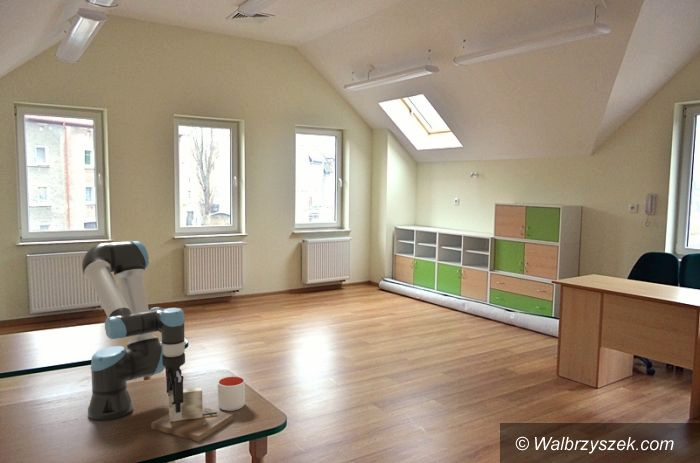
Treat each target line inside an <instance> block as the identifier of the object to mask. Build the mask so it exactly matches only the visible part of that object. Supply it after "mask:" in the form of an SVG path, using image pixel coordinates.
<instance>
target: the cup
mask: <svg viewBox="0 0 700 463" xmlns="http://www.w3.org/2000/svg"><path fill="white" fill-rule="evenodd" d="M245 380H246V379H245V378H243V377H241V376H225V377H223V378H220V379H219V380H218V381H217V404H218V408H219V409H221V410H223V411H228V412H231V411H237V410H240V409H242V408H243V407H244V406H245V404H246V391H245V390H246V387H245V386H246V384H245V383H246V381H245Z"/></svg>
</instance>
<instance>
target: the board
mask: <svg viewBox="0 0 700 463" xmlns="http://www.w3.org/2000/svg"><path fill="white" fill-rule="evenodd" d="M202 409H203V413H209V412H217V414H213V415H205V416H203V418H196V419H187V420H179V421H175V422H174V421H171V422H170V415H169V413H167V414H165V415H163V416H161V417H159V418H157V419H156V420H154V421H153V422H150V423H151V424H150V426H151V428H150V429H153V430H156V431H159V432H163V433H166V434H170V435H172V436H173V435H174V436H177V437H181V438H185V439H187V440H192V441H195V442H197V443H198V442H201V441H202V440H204V439H205V438H207V437H208V436H210V435H211V434H213V433H215V432H216V431H217V430H219V429H221V428H223V427H224V426H225V425H227V424H229V423H230V422H232V421H233V419H234V415H233V414H232V413H228V412H224V411H220V410H217V409H211V408H207V407H204V406H202Z"/></svg>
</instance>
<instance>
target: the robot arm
mask: <svg viewBox="0 0 700 463" xmlns="http://www.w3.org/2000/svg"><path fill="white" fill-rule="evenodd" d="M149 259H150V257H149V252H148V250H147V248H146V246H145V245H144V243H142V242H141V241H139V240H135V241H134V240H127V241H116V242H115V241H114V242H101V243H98V244H95V245H93V246H92V247H91V248H89V249H88V250H87V252H86V253H85V255H84V256H83V259H82V263H81V270H82V272H83V275H84V277H85V279H87V280H88V281H90V283H91V285H92V287H93V290H94V291H95V294H96V296H97V297H98V300H99V302H100V304H101V306H102V308H103V310H104V313H105V314H106V317H107V318H106V319H105V321H104V330H105V334H106V336H107V338H109V339H110V340H116V339H123V338H124V339H125V338H128V337H129V341H128V342H127V344H126V347H127V348H125V347H124V346H122V345H116V346H114V345H113V346H108V347H105V348H102V349H100V350H97V351H96V352H95V353H94V354H92V356H91V362H90V371H91V372H90V373H91V399H90V401H89V405H88V408H87V416H88V418H89V419H91V420H94V421H111V420H115V419H119V418H122V417H125V416H126V415H128V414H130V413H131V412H132V411H133V401H132V399H131V396H130V394H129V391H128V389H127V387H128V386H127V385H128V384H127V382H128V381H132V380H136V379H141V378H146V377H152V376H154V375H158V374H161V373H162V372H163V371H164V370H165V376H166V382H165V383H166V394H167V396H168V397H169V391H170V390H173V398H174V402H172V405H173V421H174V422H175V421H179V420H182V408H181V403H183V389H184V376H183V375H182V373H183V372H182V369H181V367H182V366H183V365H184V364H185V363H186V353H185V352H186V351H185V350H186V348H185V347H186V346H185V345H186V344H187V342H186V341H185V314H184V313H185V312H184V311H183V309H182V308H180V307H168V308H163V307H159V306H156V307H151V308H150V309H149V303H148V299H147V294H146V288H145V283H144V278H143V275H144V274H145V273H146V269H148V267H149V264H150V263H149V262H150V261H149ZM113 275H114V276H113ZM116 279H117V281H119V285H120V288H119V286H118V284H117V282H116ZM154 332H159V333H161V334H160V335H161V341H159V336H156V334H154ZM168 411H169V412H168V414H169V415H170V404H169V403H168Z"/></svg>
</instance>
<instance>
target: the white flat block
mask: <svg viewBox="0 0 700 463" xmlns="http://www.w3.org/2000/svg"><path fill="white" fill-rule="evenodd" d="M172 402H174V398H173V390H170V391H169V396H168V405H169V404H170V422H171V421H173V405H172ZM202 407H203V387H194V388H193V387H190V388H183V403H181V408H182V420H187V419H196V418H203V416H205V415H213V414H217V412H209V413H203V409H202Z"/></svg>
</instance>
